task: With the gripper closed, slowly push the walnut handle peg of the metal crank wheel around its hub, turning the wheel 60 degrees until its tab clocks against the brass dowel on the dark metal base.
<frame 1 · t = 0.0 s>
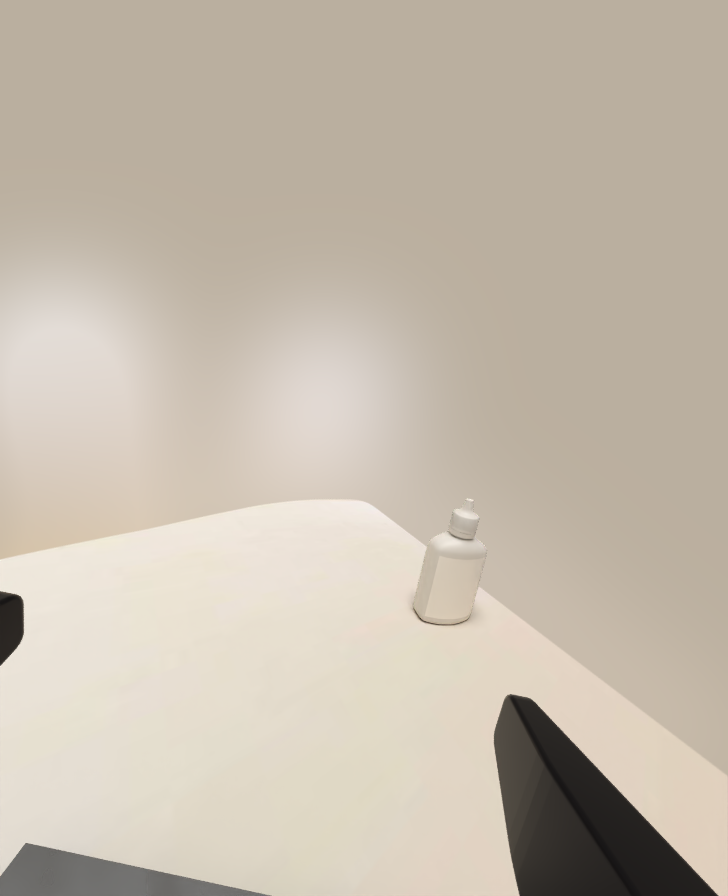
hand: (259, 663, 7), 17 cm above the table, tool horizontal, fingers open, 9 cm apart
eye dropper bottle: (440, 615, 37), on the table
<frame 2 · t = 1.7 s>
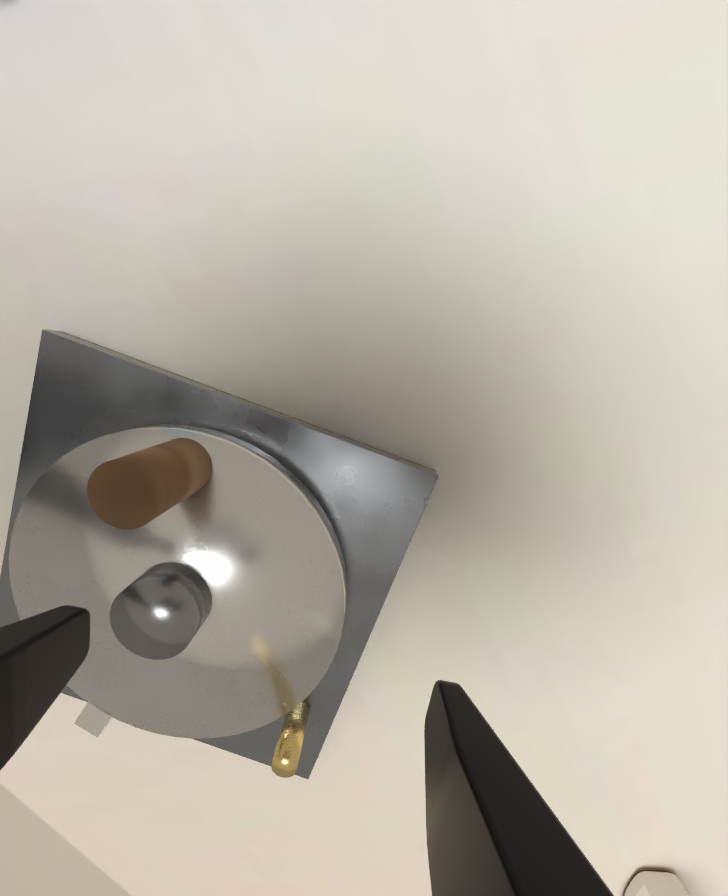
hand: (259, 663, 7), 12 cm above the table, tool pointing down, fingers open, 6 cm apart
flange base: (199, 569, 20), on the table
metal crank wheel: (152, 630, 16), point 4 cm above the table, hinge at 0.0°
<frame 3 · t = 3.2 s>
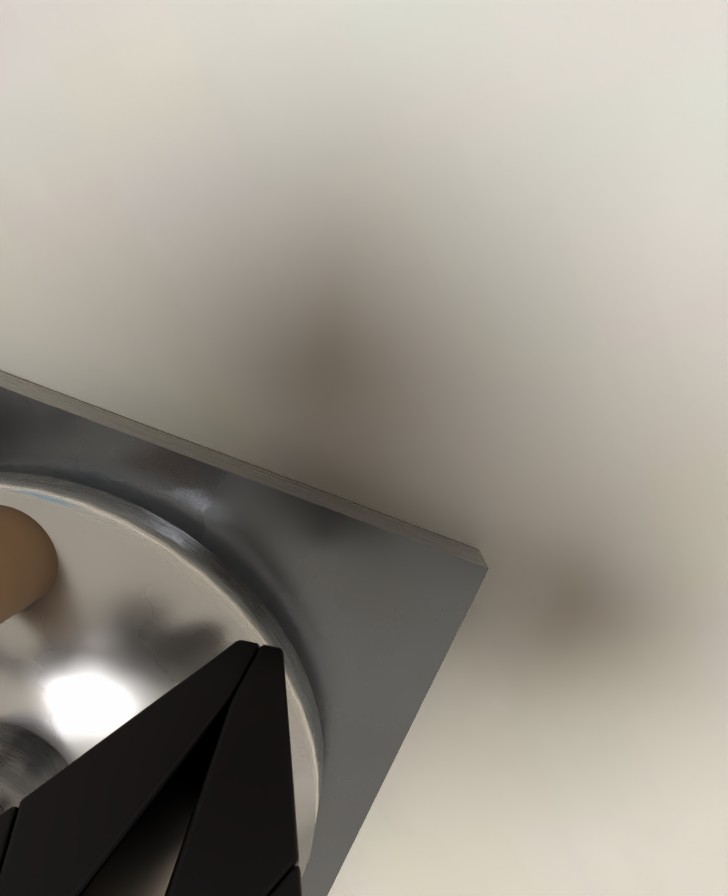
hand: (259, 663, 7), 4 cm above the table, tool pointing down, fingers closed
flange base: (85, 698, 12), on the table
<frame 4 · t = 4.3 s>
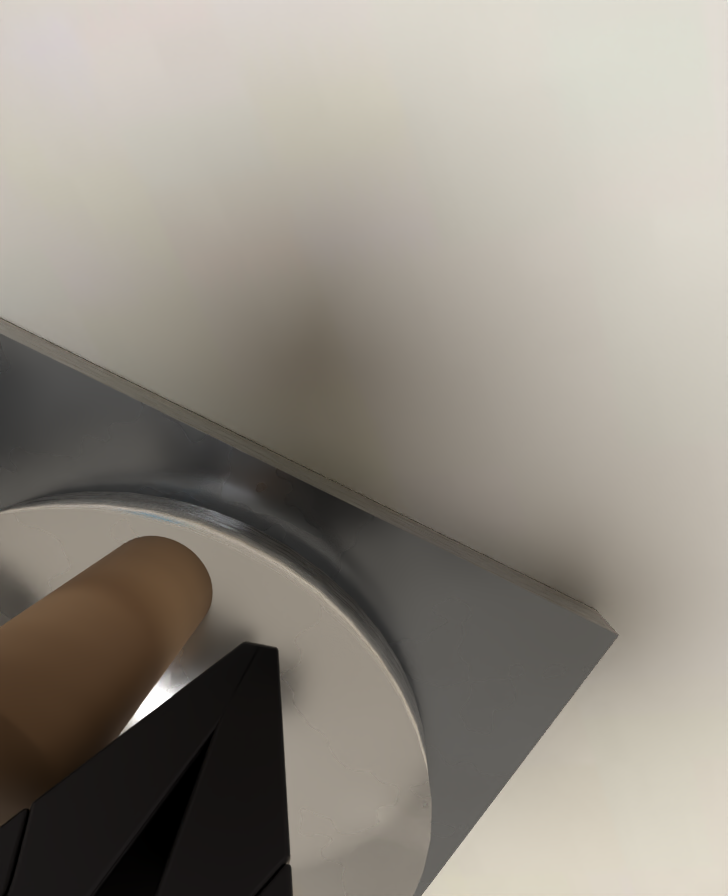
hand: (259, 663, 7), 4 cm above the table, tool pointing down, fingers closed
flange base: (170, 716, 12), on the table
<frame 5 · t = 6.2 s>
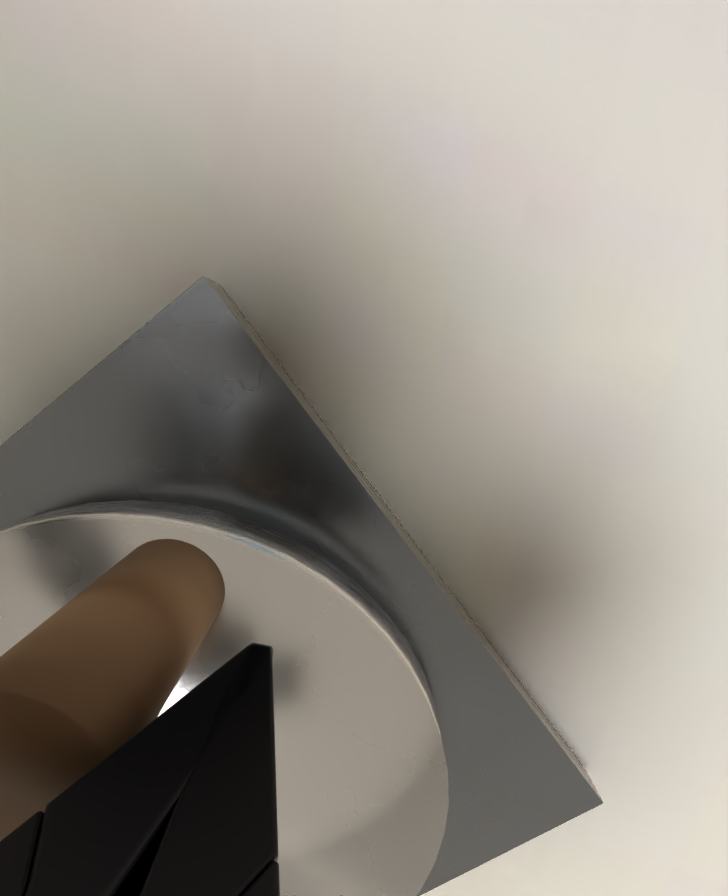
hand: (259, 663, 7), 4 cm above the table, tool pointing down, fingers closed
flange base: (188, 716, 12), on the table
metal crank wheel: (103, 893, 9), point 4 cm above the table, hinge at 31.7°, touching gripper
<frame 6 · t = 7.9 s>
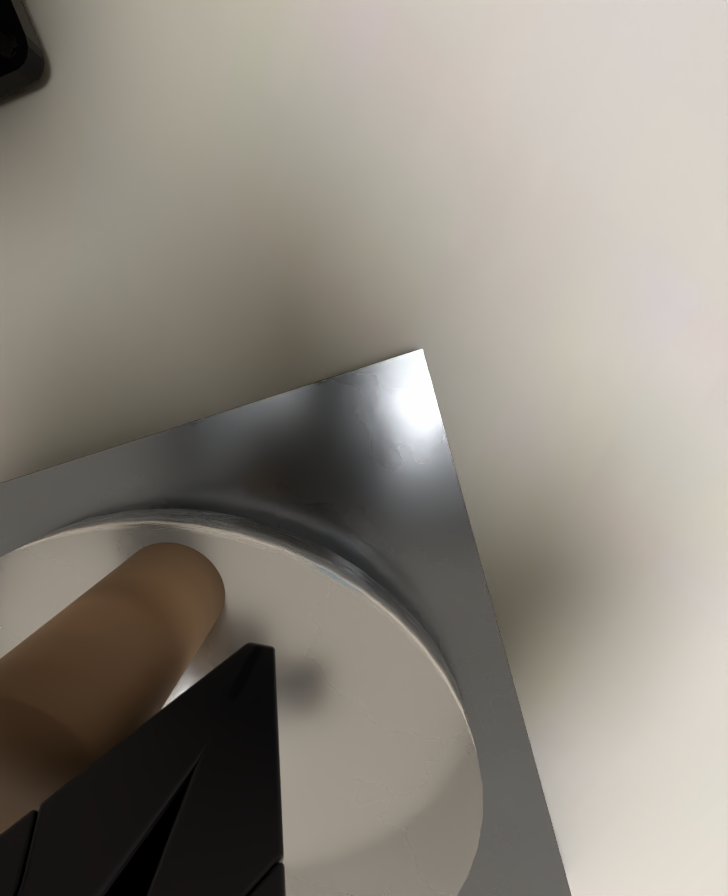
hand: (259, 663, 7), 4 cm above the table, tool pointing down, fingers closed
flange base: (217, 722, 13), on the table
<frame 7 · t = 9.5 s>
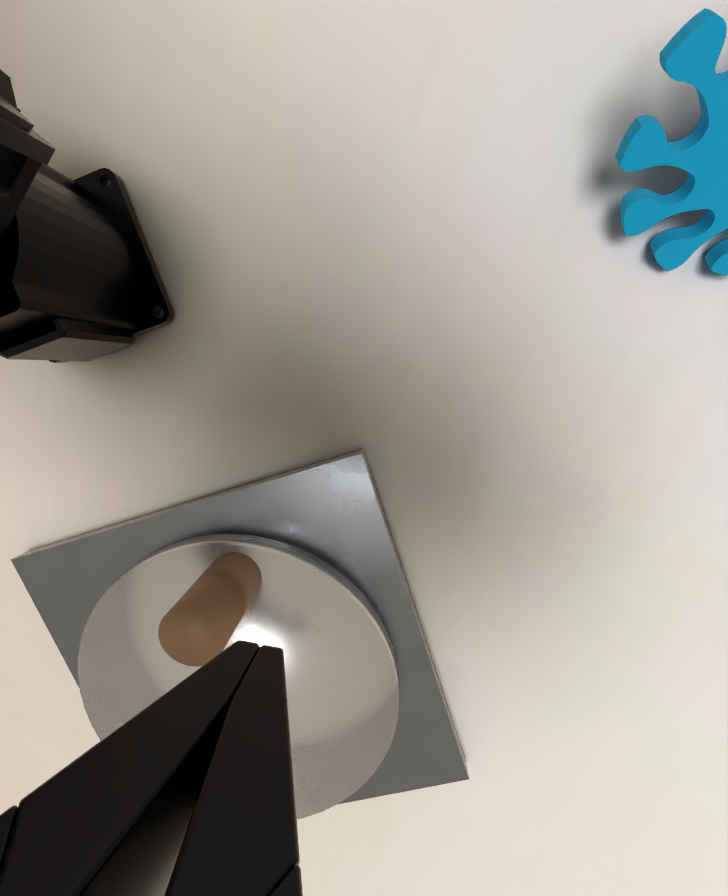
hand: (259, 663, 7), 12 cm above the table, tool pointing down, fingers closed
flange base: (252, 658, 21), on the table
gear: (715, 182, 15), on the table
metal crank wheel: (220, 735, 17), point 4 cm above the table, hinge at 57.9°
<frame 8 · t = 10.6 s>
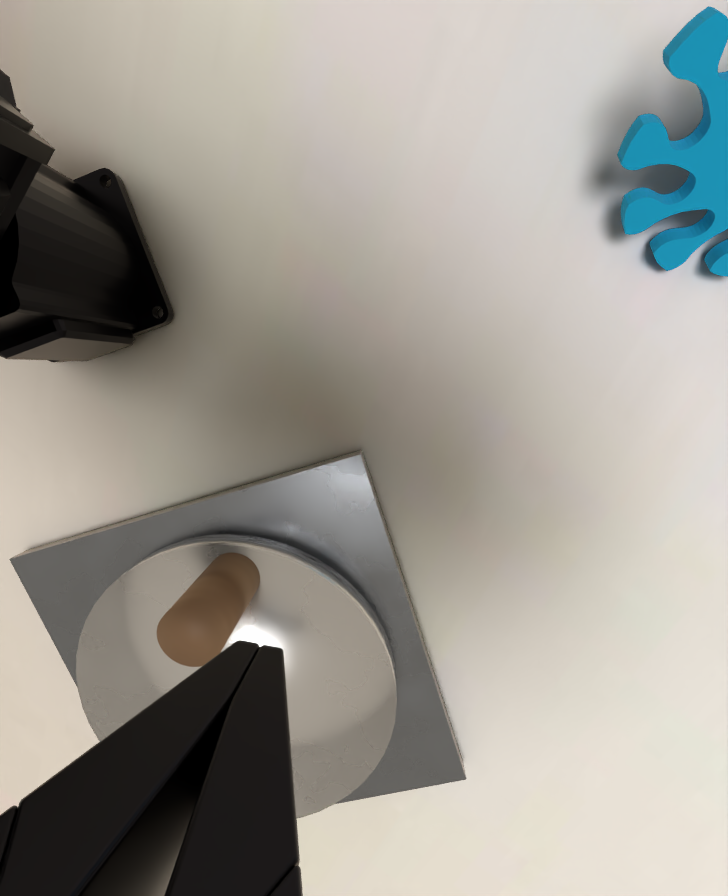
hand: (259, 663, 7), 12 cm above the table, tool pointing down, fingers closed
flange base: (251, 658, 21), on the table
gear: (716, 184, 15), on the table
metal crank wheel: (218, 734, 17), point 4 cm above the table, hinge at 57.9°
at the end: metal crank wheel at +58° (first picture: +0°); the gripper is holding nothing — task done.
